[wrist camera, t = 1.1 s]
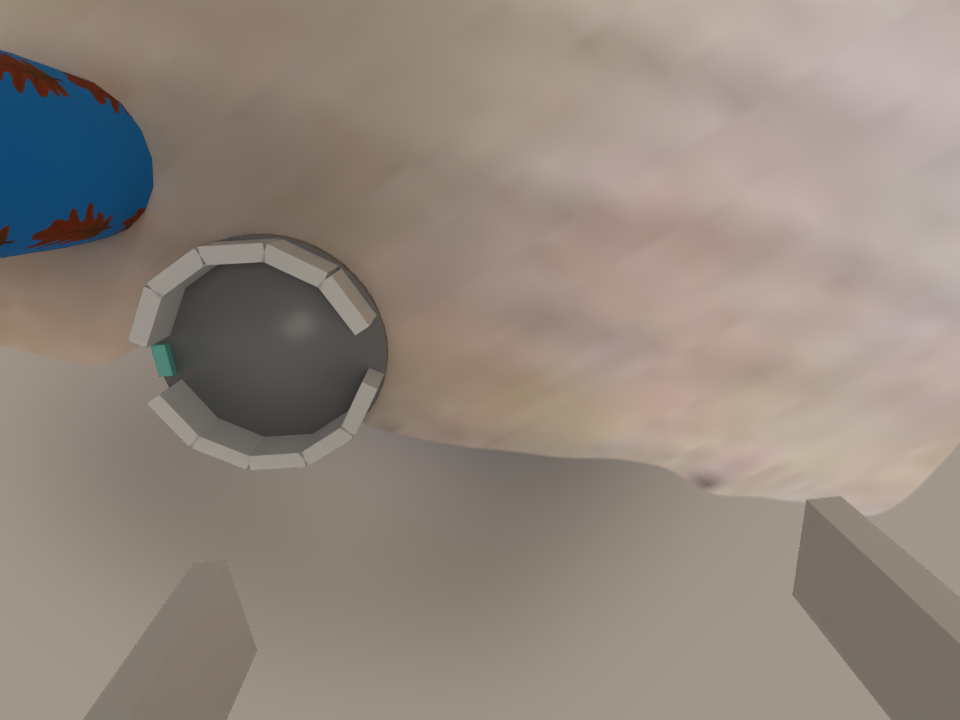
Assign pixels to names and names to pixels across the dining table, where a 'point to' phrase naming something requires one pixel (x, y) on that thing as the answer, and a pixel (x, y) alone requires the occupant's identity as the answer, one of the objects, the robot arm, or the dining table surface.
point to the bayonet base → (262, 350)
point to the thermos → (65, 160)
